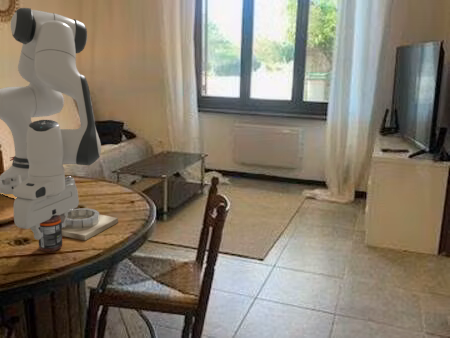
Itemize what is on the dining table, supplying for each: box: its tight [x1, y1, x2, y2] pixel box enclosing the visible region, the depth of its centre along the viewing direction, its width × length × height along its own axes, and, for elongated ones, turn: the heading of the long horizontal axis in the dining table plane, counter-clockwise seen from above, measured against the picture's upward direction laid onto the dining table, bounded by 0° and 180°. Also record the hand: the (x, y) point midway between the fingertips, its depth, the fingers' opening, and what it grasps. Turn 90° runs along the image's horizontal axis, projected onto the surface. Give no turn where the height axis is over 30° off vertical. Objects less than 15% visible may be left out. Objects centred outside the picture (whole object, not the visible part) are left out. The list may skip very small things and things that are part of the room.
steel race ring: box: [65, 207, 100, 229], centre depth 138 cm, size 11×11×2 cm
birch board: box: [62, 214, 119, 241], centre depth 139 cm, size 16×16×2 cm
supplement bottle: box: [38, 209, 63, 253], centre depth 122 cm, size 6×6×11 cm
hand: (50, 233), depth 122 cm, fingers open, 7 cm apart
